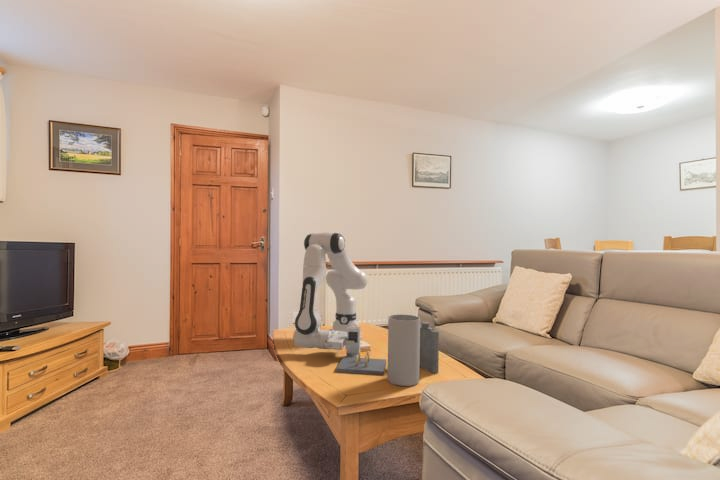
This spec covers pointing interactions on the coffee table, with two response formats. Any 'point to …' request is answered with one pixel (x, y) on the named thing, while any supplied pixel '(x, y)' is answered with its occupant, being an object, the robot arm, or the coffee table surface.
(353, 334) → the drive
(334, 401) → the coffee table surface
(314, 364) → the coffee table surface
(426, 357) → the hip flask
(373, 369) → the pin tray
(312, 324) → the robot arm
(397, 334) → the cylinder vase
